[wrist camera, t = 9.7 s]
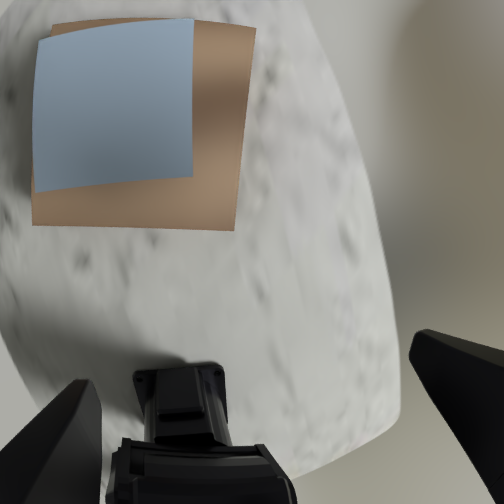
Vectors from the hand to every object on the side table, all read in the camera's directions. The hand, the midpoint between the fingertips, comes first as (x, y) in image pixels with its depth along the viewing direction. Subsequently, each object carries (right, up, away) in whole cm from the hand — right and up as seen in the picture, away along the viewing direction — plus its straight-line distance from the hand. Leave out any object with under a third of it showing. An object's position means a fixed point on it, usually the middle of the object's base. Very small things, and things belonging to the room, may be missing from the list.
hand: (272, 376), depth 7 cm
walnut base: (-7, +10, +8) cm, 15 cm away
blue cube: (-6, +9, +5) cm, 12 cm away
